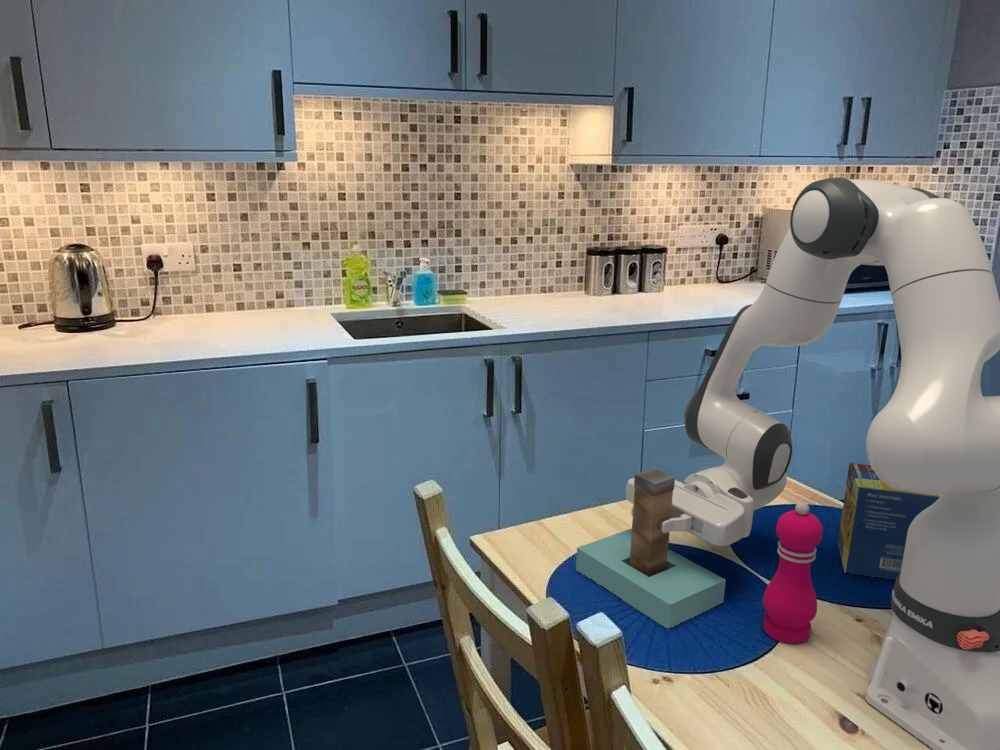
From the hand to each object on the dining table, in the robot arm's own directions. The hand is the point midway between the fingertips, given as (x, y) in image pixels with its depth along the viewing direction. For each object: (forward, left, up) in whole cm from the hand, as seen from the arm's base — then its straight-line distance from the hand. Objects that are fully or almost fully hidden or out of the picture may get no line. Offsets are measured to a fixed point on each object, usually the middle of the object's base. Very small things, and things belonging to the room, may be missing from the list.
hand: (647, 519), depth 122 cm
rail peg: (0, -1, -9) cm, 9 cm away
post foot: (0, -1, -11) cm, 12 cm away
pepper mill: (-16, -15, -12) cm, 25 cm away
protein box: (-4, -43, -12) cm, 45 cm away
